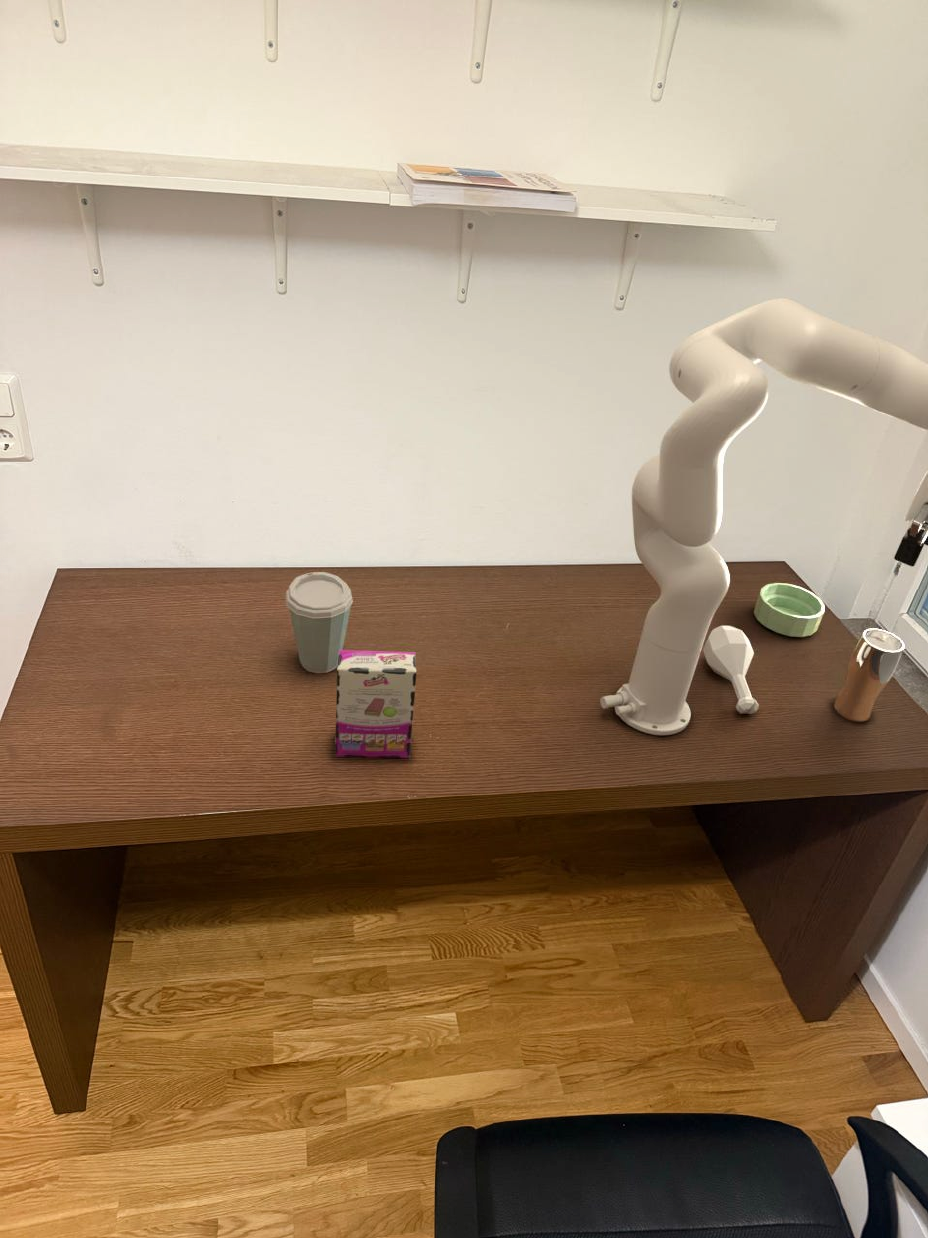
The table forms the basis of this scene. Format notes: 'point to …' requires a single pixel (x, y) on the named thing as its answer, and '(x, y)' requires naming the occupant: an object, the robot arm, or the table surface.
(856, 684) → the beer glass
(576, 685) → the table surface
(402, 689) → the candy bar box
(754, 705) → the chicken leg
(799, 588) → the sage bowl
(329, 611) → the disposable coffee cup
